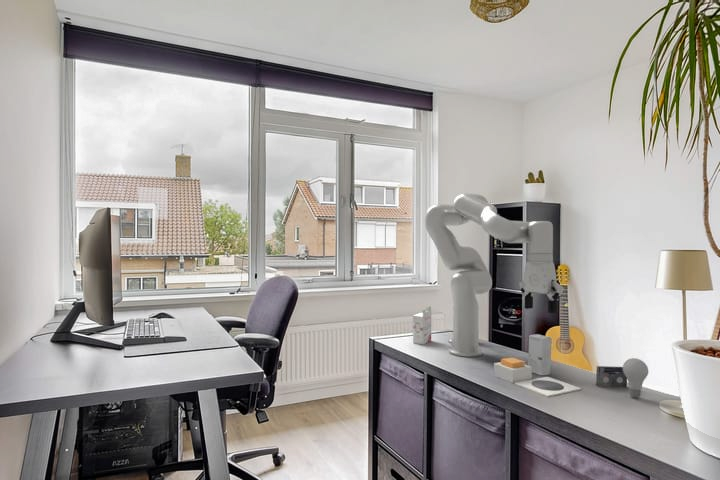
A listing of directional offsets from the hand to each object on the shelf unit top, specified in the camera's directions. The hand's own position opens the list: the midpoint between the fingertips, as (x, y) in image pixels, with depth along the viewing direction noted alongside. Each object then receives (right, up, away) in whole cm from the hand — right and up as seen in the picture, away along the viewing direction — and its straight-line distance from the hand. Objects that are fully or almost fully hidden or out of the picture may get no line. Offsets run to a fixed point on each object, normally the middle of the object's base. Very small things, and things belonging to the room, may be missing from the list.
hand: (540, 310), depth 148 cm
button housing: (-11, -21, -5) cm, 24 cm away
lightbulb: (+18, -21, -22) cm, 35 cm away
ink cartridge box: (-33, -20, +42) cm, 57 cm away
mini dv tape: (+16, -21, -13) cm, 30 cm away
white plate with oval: (-3, -21, -14) cm, 25 cm away
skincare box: (0, -21, 0) cm, 21 cm away
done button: (-11, -18, -5) cm, 22 cm away
